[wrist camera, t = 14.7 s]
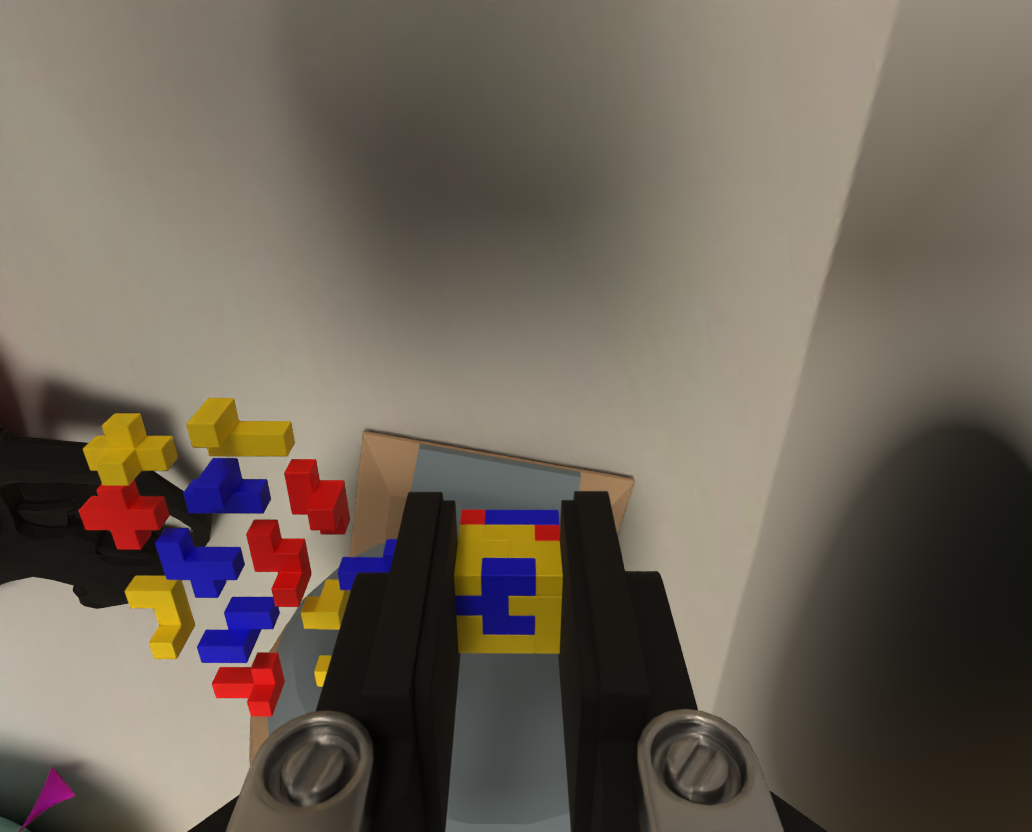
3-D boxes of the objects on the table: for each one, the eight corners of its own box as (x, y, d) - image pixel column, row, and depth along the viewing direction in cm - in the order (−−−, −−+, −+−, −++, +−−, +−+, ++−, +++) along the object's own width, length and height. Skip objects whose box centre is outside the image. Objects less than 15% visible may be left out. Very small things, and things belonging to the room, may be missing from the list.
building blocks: (55, 397, 11) (-15, 453, 10) (562, 398, 11) (568, 455, 10) (158, 680, 14) (116, 755, 13) (552, 682, 14) (555, 758, 13)
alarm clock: (325, 593, 35) (162, 1031, 19) (341, 426, 31) (145, 820, 15) (601, 637, 36) (657, 1085, 21) (655, 482, 32) (778, 903, 16)
